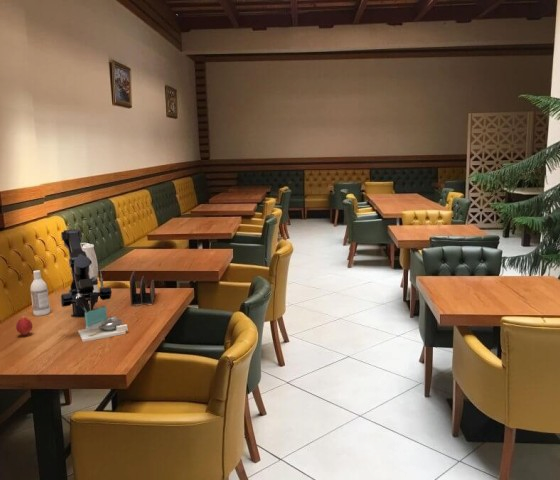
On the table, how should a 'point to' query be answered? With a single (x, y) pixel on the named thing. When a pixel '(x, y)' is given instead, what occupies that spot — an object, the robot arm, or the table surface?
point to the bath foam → (39, 295)
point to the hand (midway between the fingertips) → (90, 314)
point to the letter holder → (141, 292)
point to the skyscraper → (94, 266)
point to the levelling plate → (101, 333)
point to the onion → (24, 326)
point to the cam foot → (101, 319)
